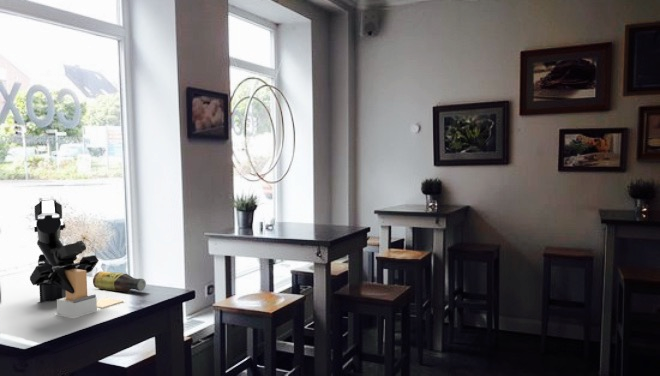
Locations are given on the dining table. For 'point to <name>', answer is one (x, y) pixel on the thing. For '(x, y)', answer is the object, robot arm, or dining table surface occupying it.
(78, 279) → the tan rectangular block
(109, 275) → the sauce bottle
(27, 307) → the dining table surface
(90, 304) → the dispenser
